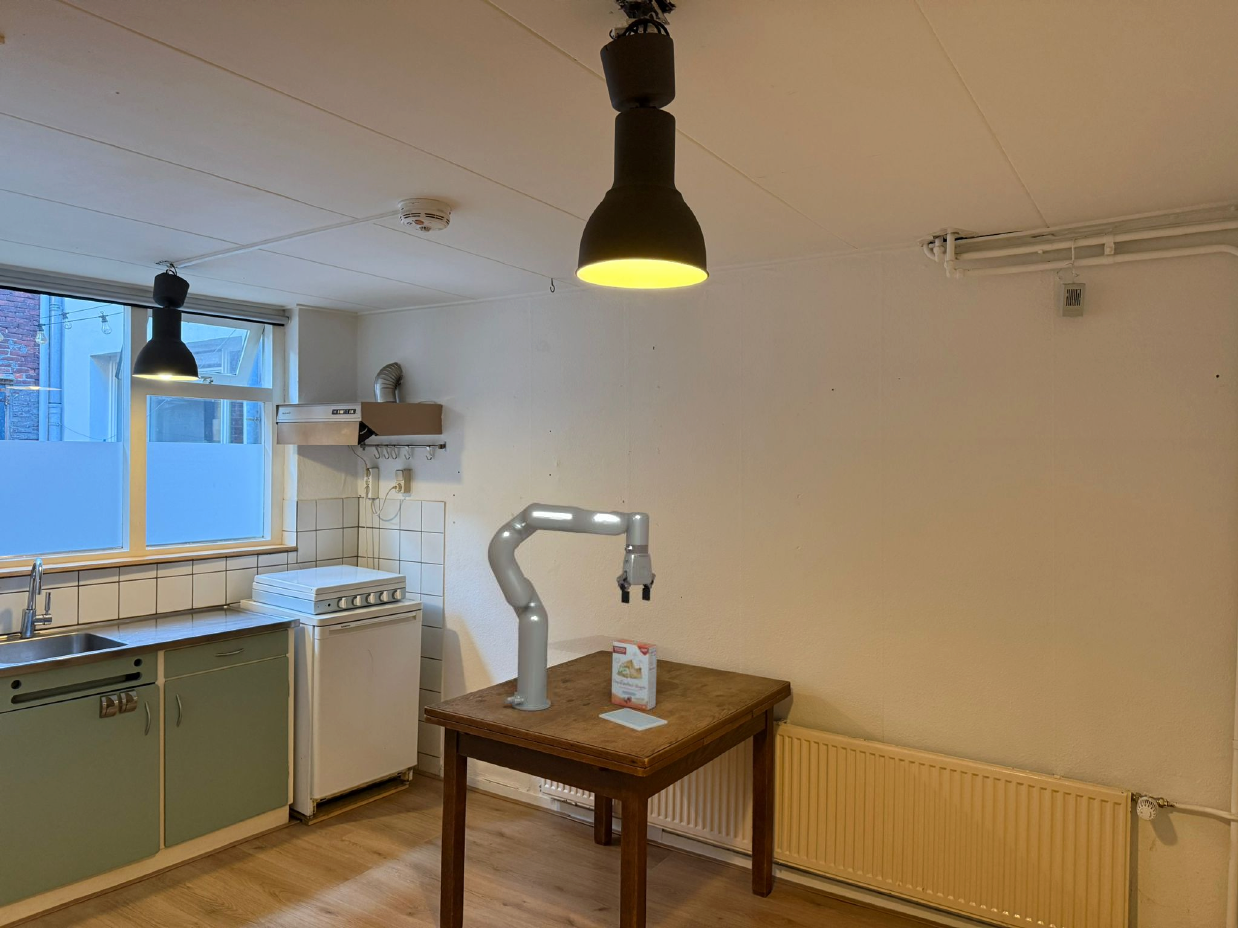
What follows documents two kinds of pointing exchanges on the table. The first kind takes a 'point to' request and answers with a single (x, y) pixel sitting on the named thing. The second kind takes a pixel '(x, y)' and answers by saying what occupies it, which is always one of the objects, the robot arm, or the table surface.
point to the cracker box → (634, 674)
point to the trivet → (633, 719)
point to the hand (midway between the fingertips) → (635, 601)
